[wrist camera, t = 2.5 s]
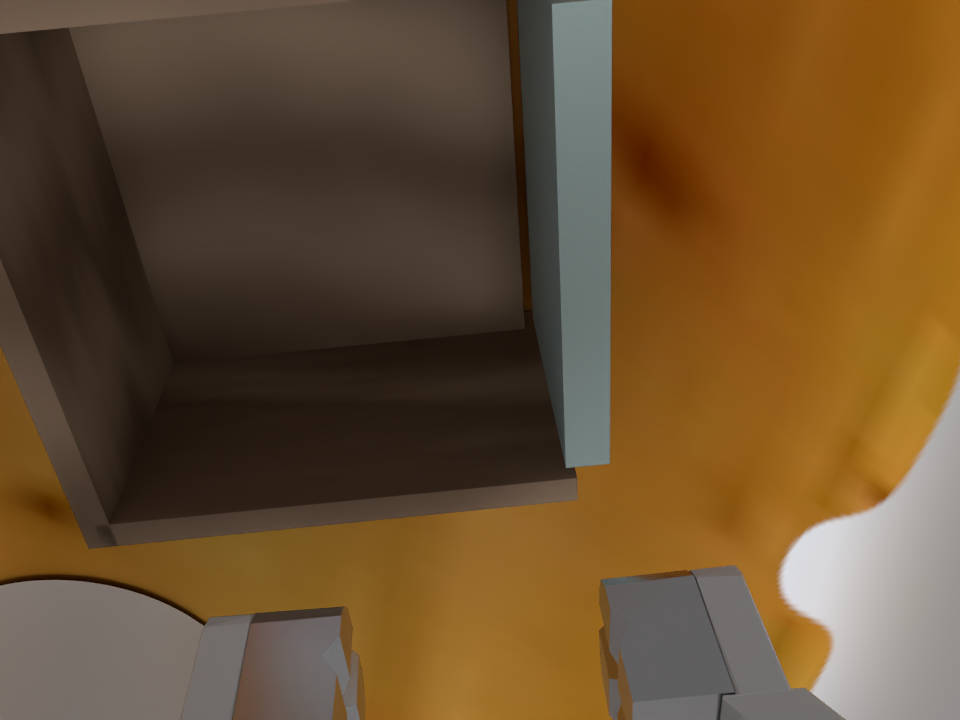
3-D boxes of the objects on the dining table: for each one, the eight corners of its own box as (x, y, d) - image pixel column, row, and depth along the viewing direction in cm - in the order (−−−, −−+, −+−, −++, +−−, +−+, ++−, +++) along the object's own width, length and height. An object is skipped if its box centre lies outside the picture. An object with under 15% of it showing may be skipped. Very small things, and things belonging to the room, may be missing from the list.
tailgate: (567, 314, 31) (610, 463, 25) (532, 318, 31) (565, 468, 25) (557, -64, 25) (612, -2, 18) (513, -60, 25) (551, 3, 18)
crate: (538, 328, 33) (577, 500, 25) (164, 365, 33) (89, 548, 25) (518, -116, 25) (565, -63, 17) (24, -70, 25) (-149, 2, 17)
